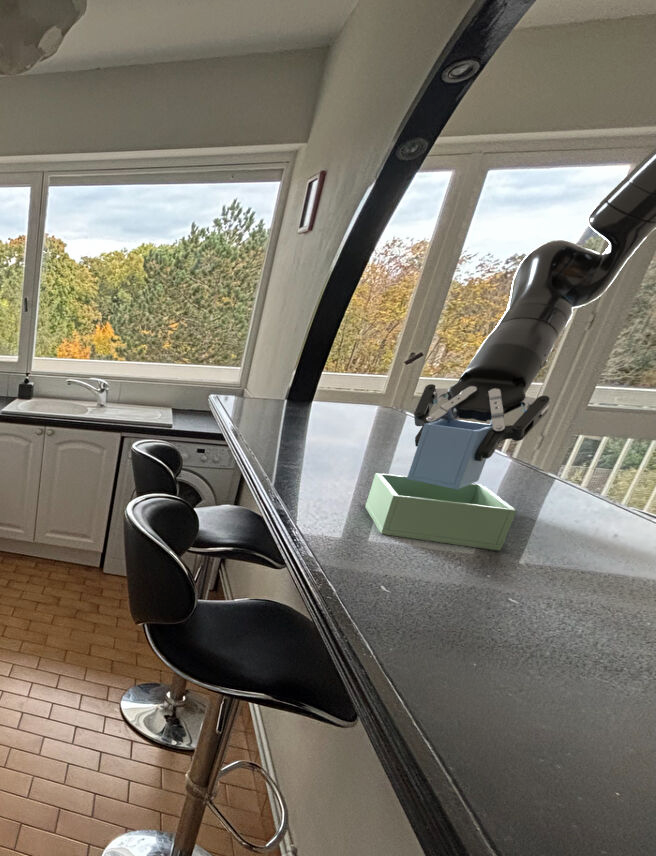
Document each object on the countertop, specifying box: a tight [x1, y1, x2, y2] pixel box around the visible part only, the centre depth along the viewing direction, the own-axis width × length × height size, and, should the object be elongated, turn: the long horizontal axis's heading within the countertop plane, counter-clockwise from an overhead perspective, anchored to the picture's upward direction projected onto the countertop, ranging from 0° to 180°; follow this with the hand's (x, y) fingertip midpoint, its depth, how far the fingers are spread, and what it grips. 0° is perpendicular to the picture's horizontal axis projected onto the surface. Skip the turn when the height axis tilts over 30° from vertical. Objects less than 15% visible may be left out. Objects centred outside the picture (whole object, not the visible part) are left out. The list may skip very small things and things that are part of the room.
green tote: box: [365, 472, 517, 552], centre depth 86 cm, size 13×13×6 cm
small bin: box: [407, 419, 493, 490], centre depth 83 cm, size 6×8×8 cm
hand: (448, 452), depth 82 cm, fingers closed on small bin, 6 cm apart
